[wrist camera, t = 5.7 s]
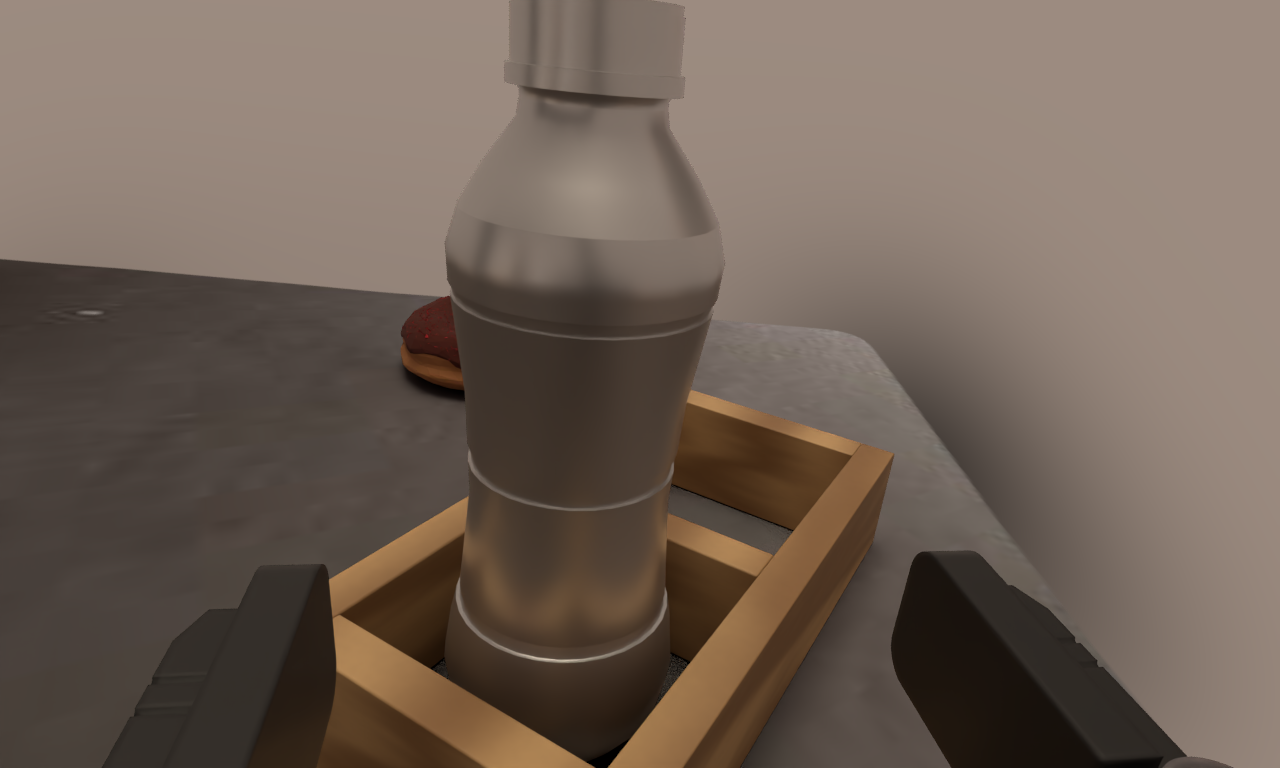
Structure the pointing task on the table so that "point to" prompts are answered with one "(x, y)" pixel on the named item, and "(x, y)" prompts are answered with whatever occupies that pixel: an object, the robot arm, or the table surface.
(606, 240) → the grey metal bottle
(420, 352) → the donut
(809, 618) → the caddy
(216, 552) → the table surface
